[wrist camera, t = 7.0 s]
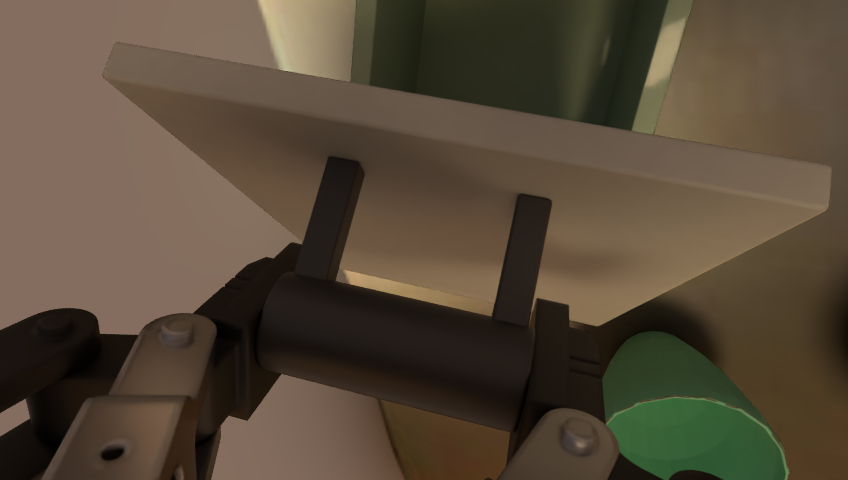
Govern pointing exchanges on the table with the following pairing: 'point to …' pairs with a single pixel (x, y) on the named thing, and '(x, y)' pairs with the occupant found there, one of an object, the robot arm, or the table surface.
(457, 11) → the pale green hollow box
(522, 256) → the box lid
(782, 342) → the table surface
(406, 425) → the table surface
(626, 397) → the mug
